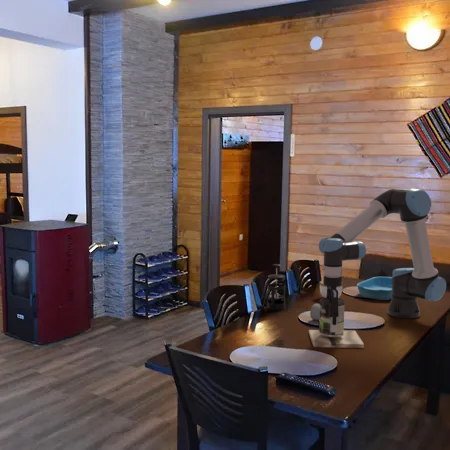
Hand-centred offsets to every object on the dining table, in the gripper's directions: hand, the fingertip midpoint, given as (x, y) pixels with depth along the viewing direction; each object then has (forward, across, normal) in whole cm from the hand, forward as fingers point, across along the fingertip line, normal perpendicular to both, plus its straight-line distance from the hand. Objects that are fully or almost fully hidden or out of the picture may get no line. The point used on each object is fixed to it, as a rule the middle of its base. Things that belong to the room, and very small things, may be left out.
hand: (331, 328), depth 219 cm
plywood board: (+5, 0, +2) cm, 5 cm away
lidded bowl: (+6, -72, +11) cm, 73 cm away
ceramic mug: (+6, -30, 0) cm, 30 cm away
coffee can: (+2, 0, 0) cm, 2 cm away
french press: (+5, -51, -20) cm, 55 cm away
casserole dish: (+6, -84, +42) cm, 94 cm away
